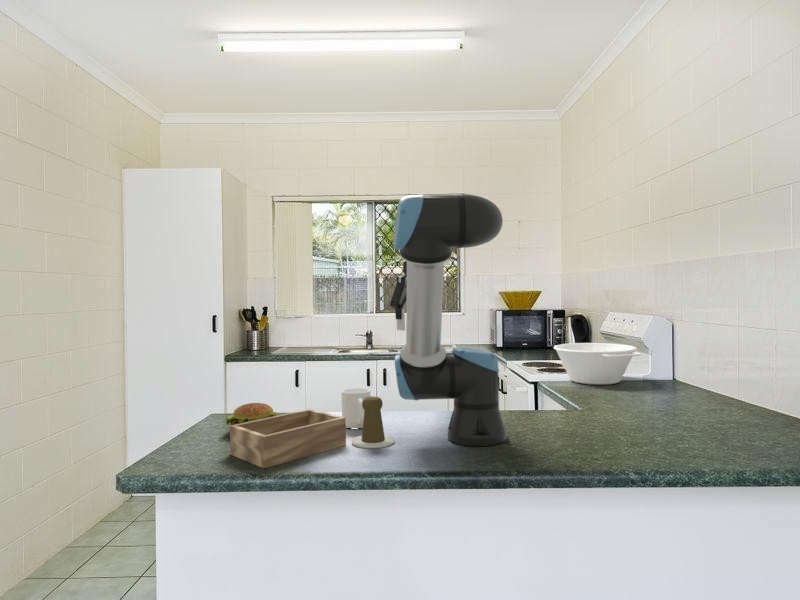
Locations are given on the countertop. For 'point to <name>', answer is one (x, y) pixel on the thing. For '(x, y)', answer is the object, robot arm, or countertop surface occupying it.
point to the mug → (354, 406)
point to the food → (250, 413)
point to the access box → (287, 437)
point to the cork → (372, 420)
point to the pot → (595, 361)
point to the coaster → (359, 443)
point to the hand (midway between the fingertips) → (416, 328)
